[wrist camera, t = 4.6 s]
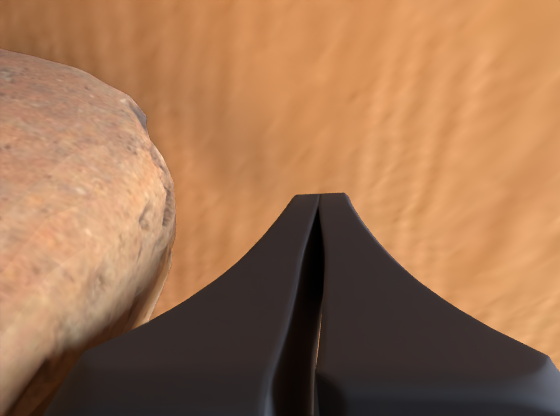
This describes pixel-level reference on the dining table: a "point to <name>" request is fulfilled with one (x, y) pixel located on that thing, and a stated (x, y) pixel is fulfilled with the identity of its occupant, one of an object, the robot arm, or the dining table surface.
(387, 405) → the robot arm
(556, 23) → the dining table surface
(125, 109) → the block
